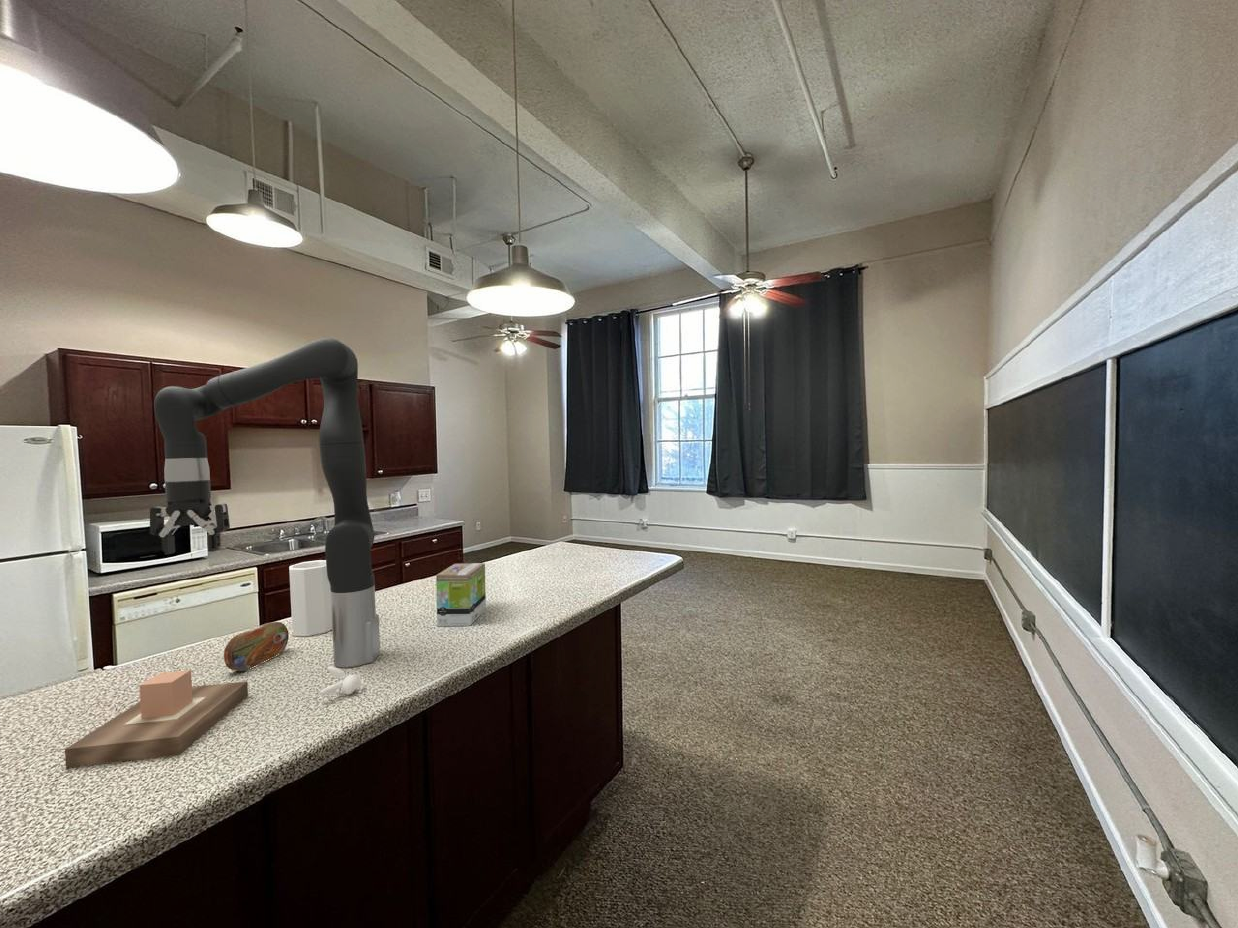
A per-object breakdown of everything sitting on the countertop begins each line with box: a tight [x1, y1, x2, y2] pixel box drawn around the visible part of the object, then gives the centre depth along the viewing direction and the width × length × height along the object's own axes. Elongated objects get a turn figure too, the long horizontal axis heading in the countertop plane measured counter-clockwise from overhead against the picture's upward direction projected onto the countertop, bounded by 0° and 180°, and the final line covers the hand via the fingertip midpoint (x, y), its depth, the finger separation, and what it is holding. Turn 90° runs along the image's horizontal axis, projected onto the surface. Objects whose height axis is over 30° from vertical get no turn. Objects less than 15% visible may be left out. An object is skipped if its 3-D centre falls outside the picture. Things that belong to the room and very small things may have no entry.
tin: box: [223, 621, 290, 672], centre depth 118 cm, size 15×3×8 cm, turn 168°
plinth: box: [64, 680, 249, 768], centre depth 91 cm, size 16×20×3 cm
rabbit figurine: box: [319, 665, 365, 698], centre depth 101 cm, size 6×4×8 cm
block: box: [139, 669, 193, 719], centre depth 91 cm, size 5×5×6 cm
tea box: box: [435, 562, 487, 627], centre depth 146 cm, size 15×10×15 cm, turn 179°
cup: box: [288, 559, 332, 637], centre depth 140 cm, size 11×11×18 cm
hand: (191, 552), depth 110 cm, fingers open, 8 cm apart
